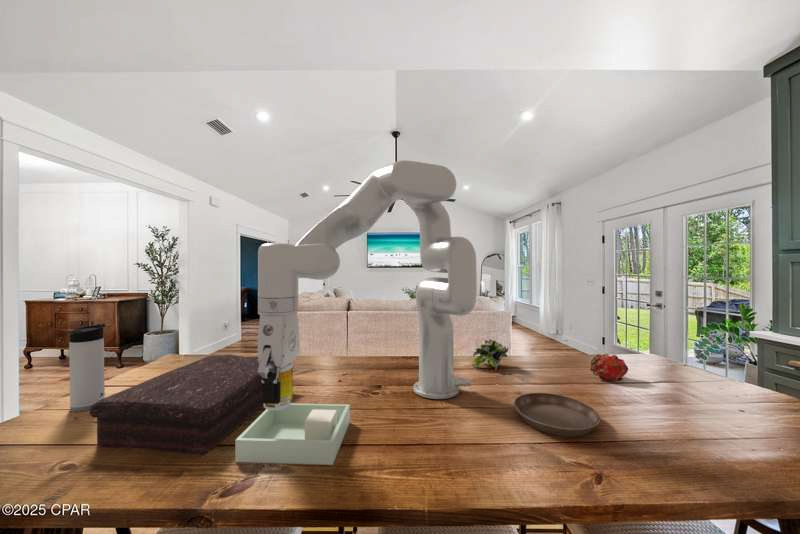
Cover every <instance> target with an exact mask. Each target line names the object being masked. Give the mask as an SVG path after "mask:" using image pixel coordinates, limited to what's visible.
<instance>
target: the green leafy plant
mask: <svg viewBox="0 0 800 534" xmlns="http://www.w3.org/2000/svg"><path fill="white" fill-rule="evenodd" d="M508 352H509V347H507V346H505V345H504V346H503V344H502V343H499V342H498V341H496V340H495V339H494V340H493V339H488V340H487V339H485V340H484V343H480V344H479V347H475V351H473V354H472V357H475V359H474V360H473V361H472V367H473V368H475V367H476V366H477V367H479V366H483V365H484V364H485V363H487V362H488V364H489V365H491V366H492V367H494V372H496V370H497V368H498V366H499V364H500V362H501V359H503V357H505V358H506V357H508V354H507V353H508ZM476 356H477V357H476Z"/></svg>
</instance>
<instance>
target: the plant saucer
mask: <svg viewBox="0 0 800 534" xmlns="http://www.w3.org/2000/svg"><path fill="white" fill-rule="evenodd" d="M513 404H514V405H513V406H514V408H515V410H516V411H517V413H518V414H519V416H520V417H521V419H523V421H524V422H525V423H526V424H528V425H529V426H531V427H532V428H534V429H536V430H538V431H540V432H543V433H546V434H549V435H555V436H560V437H567V438H568V437H569V438H570V437H571V438H572V437H573V438H574V437H581V436H585V435H586V434H589V433H591V432H592V431H593V430H594V429H596V427H598V425H599V424H600V423H601V416H600V414H599V413H598V411H597V410H596V409H594V408H593V407H592V406H590V405H589V404H588V403H584V402H582V401H580V400H578V399H575V398H572V397H568V396H565V395H561V394H556V393H549V392H547V393H546V392H530V393H529V392H528V393H526V394H525V393H523V394H522V395H519V396H518V397H516V398H515V400H514V401H513Z"/></svg>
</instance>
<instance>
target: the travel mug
mask: <svg viewBox="0 0 800 534" xmlns="http://www.w3.org/2000/svg"><path fill="white" fill-rule="evenodd" d="M105 327H106V324H104V323H97V325H96V324H94V325H93V324H92V325H88V326H81V327H79V328H75V329H72V330H70V331H69V335H68V337H69V339H68V340H69V341H68V344H69V345H68V355H69V357H68V358H69V403H70V404H69V405H70V407H69V408H70V411H71V412H75V413H80V412H85V411H86V412H87V411H90V408H91V406H92V405H93V404H94V403H96V402H97V401H99V400H101V399H104V398H106V397H105V395H106V394H105V392H106V391H105V388H106V387H105V341H104V339H105V337H104V328H105Z"/></svg>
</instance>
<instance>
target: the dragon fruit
mask: <svg viewBox="0 0 800 534" xmlns="http://www.w3.org/2000/svg"><path fill="white" fill-rule="evenodd" d="M628 367H629V366H627V364H626V363H625V361H624V359H622V358H619V357H618V356H617V355H616V354H612V355H609V354H608V353H606V354H605V353H604V354H599V353H598V354H596V355H595V356H593V357H592V359H591V360H590V369H589V370H590V371H591V372H592V373H593V376H597V377H598V378H600V379H599V380H605V379H606V380H608V381H611V382H614V381H615V380H616V381H622V380H624V378H623V377H624V376H625V375H626V374H627V373H628V371H629V368H628Z"/></svg>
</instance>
